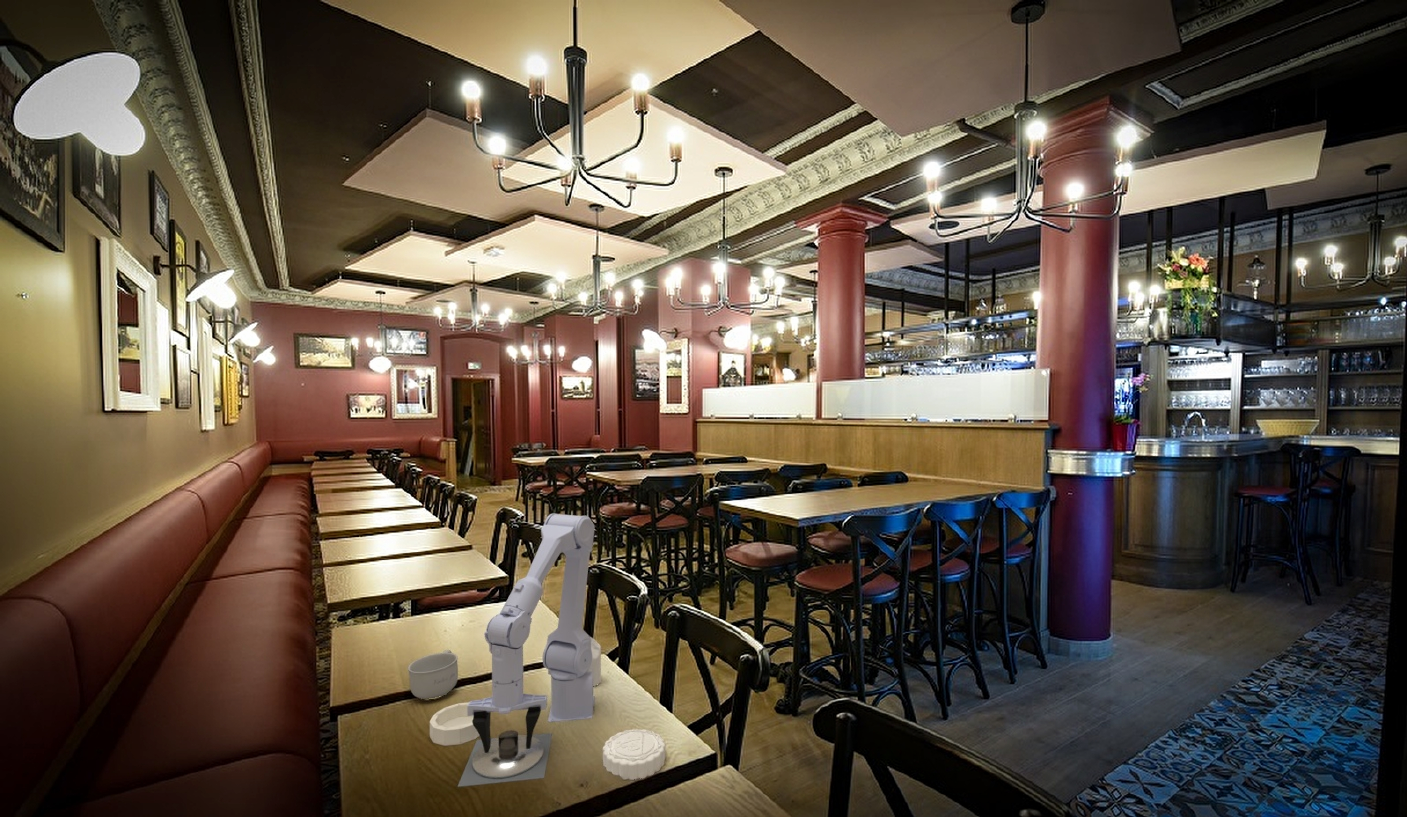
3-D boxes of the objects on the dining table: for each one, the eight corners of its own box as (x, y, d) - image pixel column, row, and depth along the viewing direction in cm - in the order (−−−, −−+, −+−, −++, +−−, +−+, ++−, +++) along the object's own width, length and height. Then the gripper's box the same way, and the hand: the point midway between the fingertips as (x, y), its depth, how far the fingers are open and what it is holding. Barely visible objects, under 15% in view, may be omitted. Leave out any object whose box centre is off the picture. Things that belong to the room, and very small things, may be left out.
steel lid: (546, 736, 120) (546, 715, 120) (539, 775, 107) (539, 751, 107) (480, 742, 118) (480, 720, 118) (464, 782, 105) (464, 759, 105)
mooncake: (605, 745, 118) (605, 727, 118) (665, 742, 119) (665, 724, 119) (599, 783, 106) (599, 763, 106) (665, 779, 107) (665, 760, 107)
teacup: (439, 707, 133) (438, 672, 133) (397, 703, 135) (397, 668, 135) (474, 679, 147) (474, 648, 147) (436, 676, 149) (436, 645, 149)
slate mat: (552, 735, 121) (552, 733, 121) (543, 780, 107) (543, 778, 107) (477, 742, 119) (477, 739, 119) (457, 789, 104) (457, 786, 104)
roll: (602, 630, 147) (598, 638, 142) (603, 677, 147) (599, 688, 142) (578, 630, 147) (574, 639, 142) (579, 677, 147) (574, 688, 142)
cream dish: (492, 716, 129) (492, 700, 129) (481, 744, 118) (480, 727, 118) (439, 720, 127) (439, 704, 127) (423, 749, 117) (423, 732, 117)
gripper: (463, 690, 108) (463, 764, 108) (544, 684, 110) (544, 756, 110) (472, 673, 115) (472, 742, 115) (548, 667, 117) (548, 735, 117)
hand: (508, 748), depth 113 cm, fingers open, 7 cm apart
